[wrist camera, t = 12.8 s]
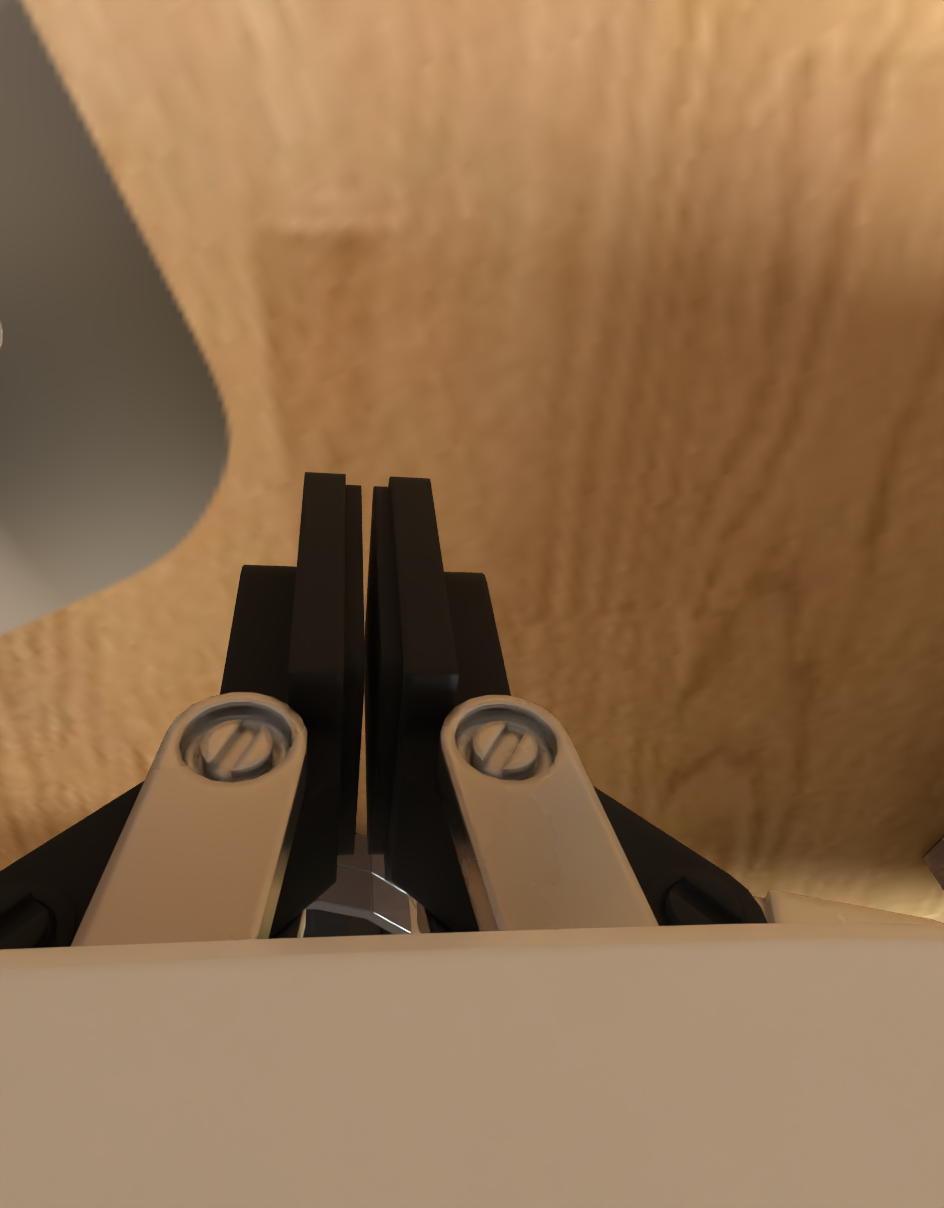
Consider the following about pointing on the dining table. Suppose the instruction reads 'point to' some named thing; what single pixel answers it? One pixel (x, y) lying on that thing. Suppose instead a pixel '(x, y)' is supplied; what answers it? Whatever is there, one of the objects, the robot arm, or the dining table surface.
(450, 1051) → the robot arm
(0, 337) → the spaceship
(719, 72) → the dining table surface
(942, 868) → the tissue box cover
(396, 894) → the ashtray
